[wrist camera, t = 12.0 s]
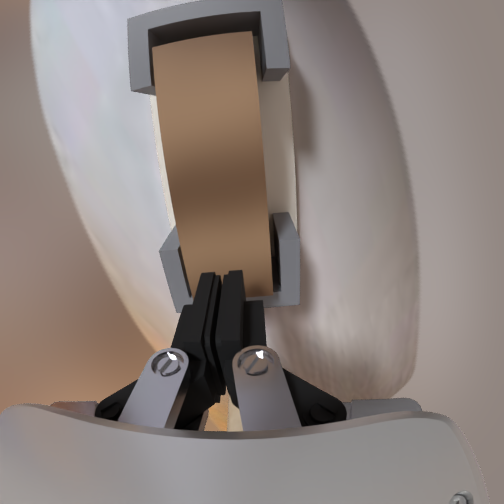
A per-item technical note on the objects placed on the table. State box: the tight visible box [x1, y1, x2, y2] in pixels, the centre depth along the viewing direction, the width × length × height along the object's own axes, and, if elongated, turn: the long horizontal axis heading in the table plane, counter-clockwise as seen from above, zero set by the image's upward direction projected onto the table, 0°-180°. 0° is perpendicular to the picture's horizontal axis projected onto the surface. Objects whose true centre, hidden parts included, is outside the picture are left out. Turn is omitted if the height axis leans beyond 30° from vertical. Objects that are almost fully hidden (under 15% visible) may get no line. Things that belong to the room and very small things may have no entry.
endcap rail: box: [128, 0, 300, 313], centre depth 14 cm, size 16×8×5 cm, turn 5°
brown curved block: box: [152, 31, 273, 301], centre depth 13 cm, size 12×4×5 cm, turn 5°
